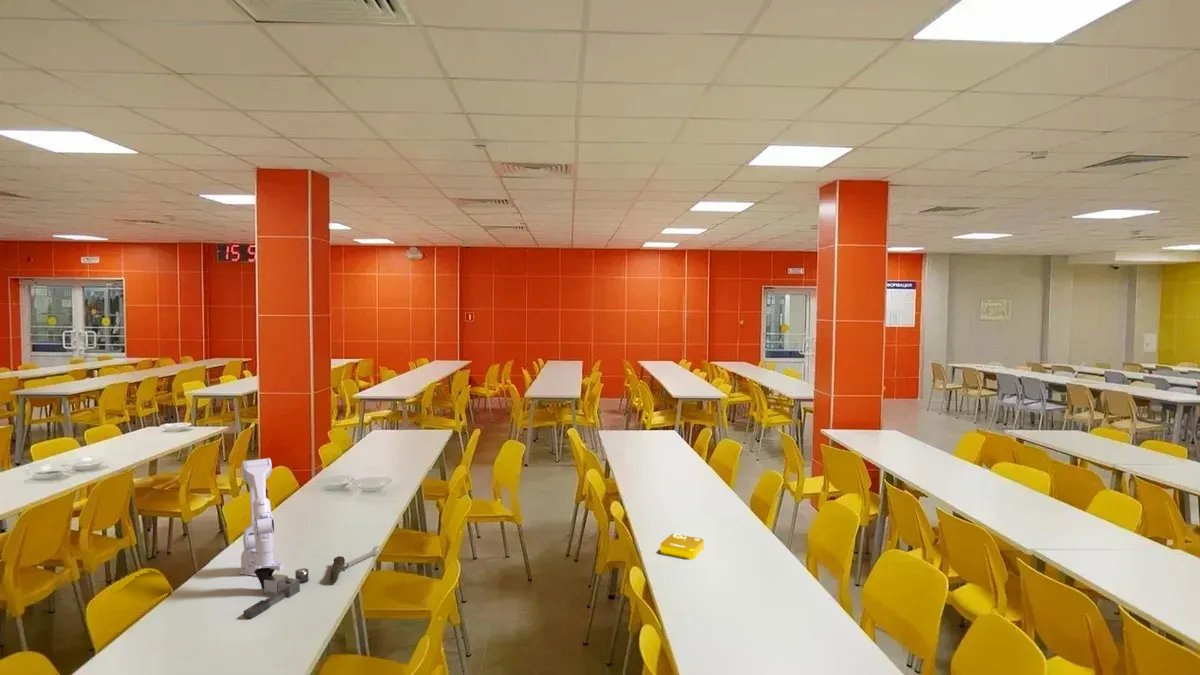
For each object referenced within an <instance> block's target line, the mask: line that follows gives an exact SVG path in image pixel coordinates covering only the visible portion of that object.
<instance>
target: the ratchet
mask: <svg viewBox="0 0 1200 675" xmlns="http://www.w3.org/2000/svg"><path fill="white" fill-rule="evenodd" d="M300 591H301V585H300V579H295V578H291V577H288V578H287V579H285V580H283V581H282V582H280V583H278V593H276V594H275V595H270V597H268V598H266V599H261V600H260V601H258V602H257V603H255V604H253V605H251V606H250V607H248V608H246V609H244V610H243V619H247V620H248V619H249V620H252V619H254V618H256V617H257V616H259V615H261V614H262V613H265V612H266V611H267V610H269V609H270V608H271V607H273V606H274V605H276V604H278V603H279V602H281V601H283V600H284V599H286V598H292V597H293V596H295V595H296V594H298V593H300Z"/></svg>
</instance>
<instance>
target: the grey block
mask: <svg viewBox="0 0 1200 675" xmlns="http://www.w3.org/2000/svg"><path fill="white" fill-rule="evenodd" d="M287 578H289V575H285V574H277V573H273V574H272V576H270V577H268V578H266V579H264V589H263V591H264V592H263V594H264V595H268V596H269V595H270V596H273V595H275V594H276V593H278V583H280V582H282V581H283V580H285V579H287Z"/></svg>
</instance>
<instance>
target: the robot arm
mask: <svg viewBox="0 0 1200 675" xmlns="http://www.w3.org/2000/svg"><path fill="white" fill-rule="evenodd" d="M272 468H273V466H272V460H271V458H270V457H267V458H260V459H259V458H258V459H253V460H252V459H251V460H243V461H242V462H241V479H242V481H243V482H247V484H248V485H249V495H250V496H249V500H250V524H249V525H248V526H247V527H245V528H244V529H243V530H244V531H243V537H242V539H243V541H242V542H243V545H242V546H243V551H242V553H241V556H240V568H241V570H240V572H239V575H247V576H254V577H257V578H258V581H259V583H260V586H261V589H263V590H264V579H266V578H268V577H270V576H272V575H274V572H275V570H276V571H278V572H281V571H282V570H284V568H285V566H284V563H281V562H278V561H276V560H274V558H275V556H274V555H275V554H274V532H275V526H276V525H275V524H276V523H275V519H274V515H273V514H274V513H272V508H271V500H270V499H269V498H267V491H266V490H267V486H266V484H267V482H266V480H267V479H269V478H270V477H271V473H272V472H273V469H272Z"/></svg>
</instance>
